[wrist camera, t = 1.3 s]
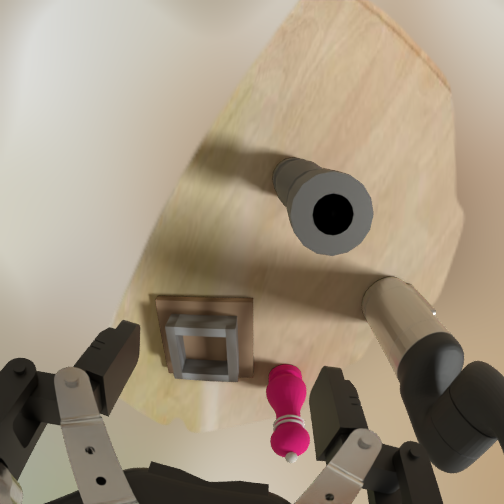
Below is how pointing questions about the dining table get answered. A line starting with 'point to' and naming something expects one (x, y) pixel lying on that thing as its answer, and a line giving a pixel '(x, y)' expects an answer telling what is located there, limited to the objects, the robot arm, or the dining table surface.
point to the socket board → (207, 337)
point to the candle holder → (323, 206)
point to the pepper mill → (287, 411)
